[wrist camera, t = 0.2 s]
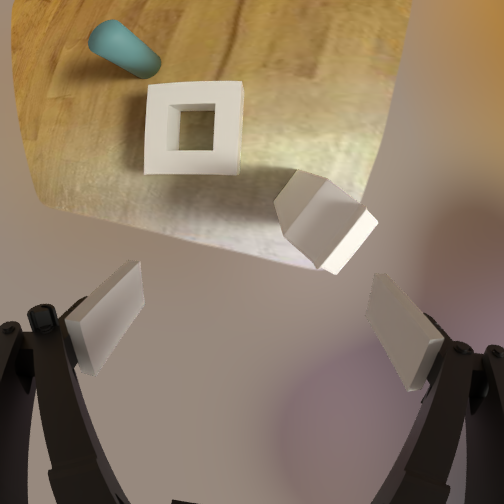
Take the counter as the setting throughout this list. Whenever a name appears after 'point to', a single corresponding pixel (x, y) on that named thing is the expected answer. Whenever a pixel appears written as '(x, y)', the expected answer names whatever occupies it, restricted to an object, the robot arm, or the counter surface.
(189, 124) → the counter surface
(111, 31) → the peg
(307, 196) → the milk
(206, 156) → the socket
